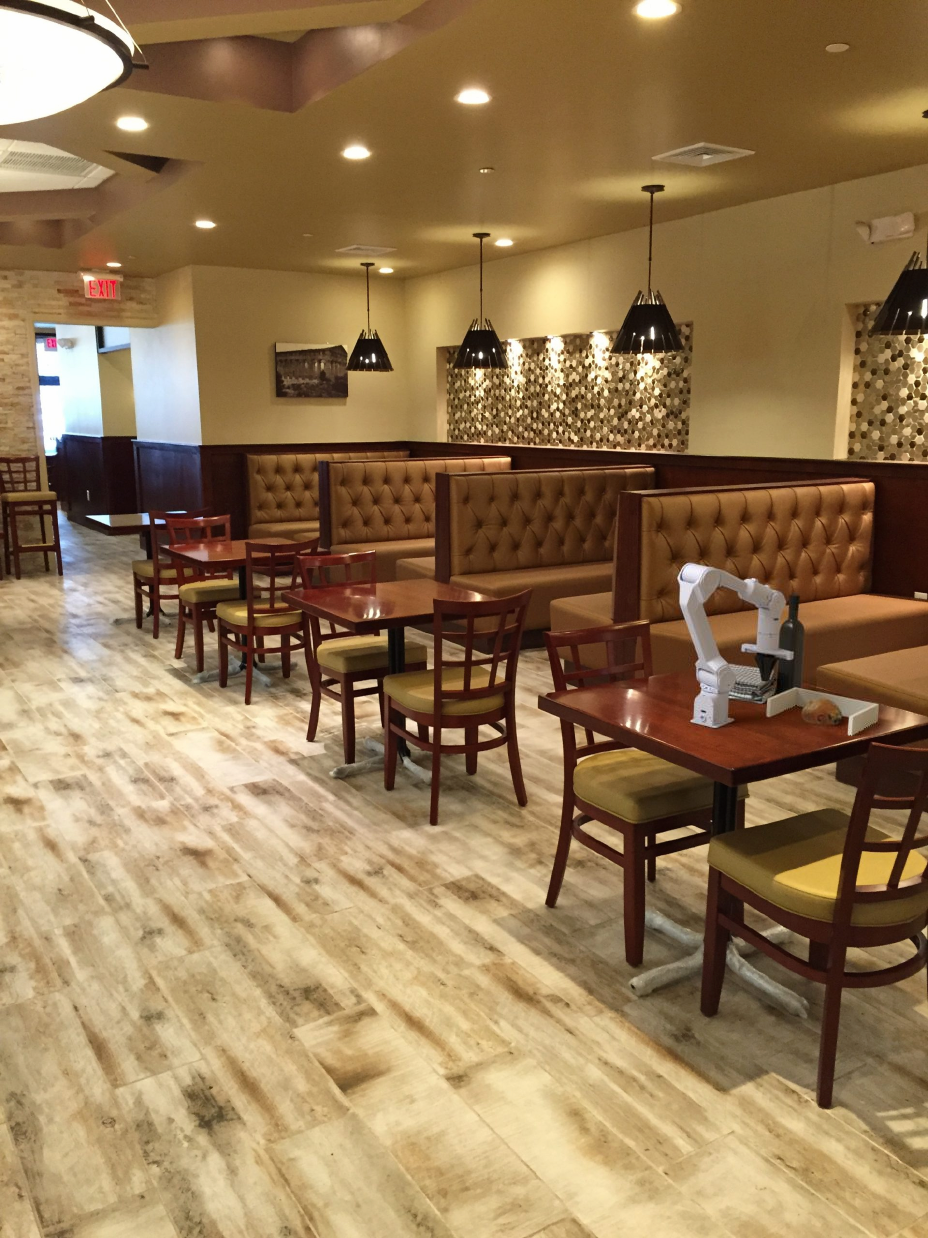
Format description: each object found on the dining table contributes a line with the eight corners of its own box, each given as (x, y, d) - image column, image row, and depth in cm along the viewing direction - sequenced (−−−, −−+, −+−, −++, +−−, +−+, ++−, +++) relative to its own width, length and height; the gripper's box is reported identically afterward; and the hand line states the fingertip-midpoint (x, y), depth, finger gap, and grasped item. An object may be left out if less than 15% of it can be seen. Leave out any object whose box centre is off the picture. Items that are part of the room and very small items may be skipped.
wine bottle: (774, 694, 294) (780, 594, 288) (785, 690, 298) (792, 592, 292) (790, 698, 290) (797, 597, 284) (802, 695, 293) (808, 595, 287)
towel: (719, 685, 305) (720, 660, 304) (779, 694, 295) (780, 668, 294) (701, 696, 293) (702, 671, 292) (763, 706, 283) (764, 680, 281)
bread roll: (830, 728, 274) (825, 700, 276) (851, 723, 264) (846, 693, 266) (798, 731, 272) (793, 702, 274) (818, 726, 262) (813, 696, 264)
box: (851, 735, 256) (852, 717, 255) (766, 716, 273) (767, 698, 272) (877, 722, 268) (878, 704, 266) (794, 704, 284) (795, 687, 283)
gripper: (800, 634, 269) (796, 682, 272) (751, 626, 279) (749, 673, 282) (787, 638, 264) (784, 687, 267) (738, 630, 274) (736, 677, 277)
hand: (765, 680), depth 274 cm, fingers closed
